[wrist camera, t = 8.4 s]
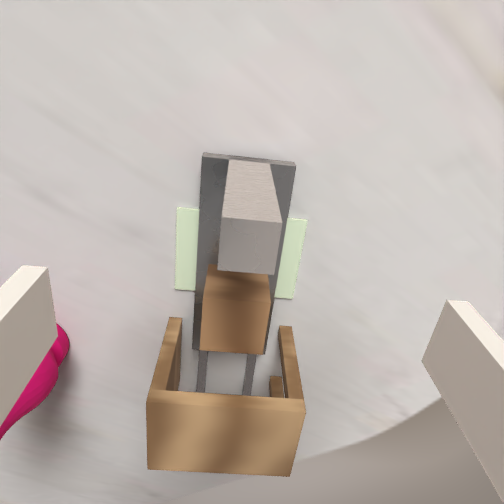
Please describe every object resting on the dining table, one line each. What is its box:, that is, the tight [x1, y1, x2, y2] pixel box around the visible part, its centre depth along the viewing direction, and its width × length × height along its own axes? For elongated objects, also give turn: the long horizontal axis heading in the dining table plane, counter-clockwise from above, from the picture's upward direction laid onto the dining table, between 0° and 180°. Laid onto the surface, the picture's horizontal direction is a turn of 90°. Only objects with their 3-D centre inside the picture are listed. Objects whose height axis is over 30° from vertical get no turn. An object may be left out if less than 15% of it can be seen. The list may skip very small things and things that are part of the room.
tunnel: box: [146, 317, 306, 477], centre depth 35 cm, size 12×8×10 cm, turn 84°
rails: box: [197, 350, 257, 396], centre depth 39 cm, size 6×32×1 cm, turn 174°
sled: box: [192, 153, 296, 354], centre depth 29 cm, size 7×18×12 cm, turn 174°
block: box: [200, 264, 271, 355], centre depth 32 cm, size 5×5×5 cm
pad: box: [175, 207, 307, 299], centre depth 35 cm, size 11×8×1 cm
